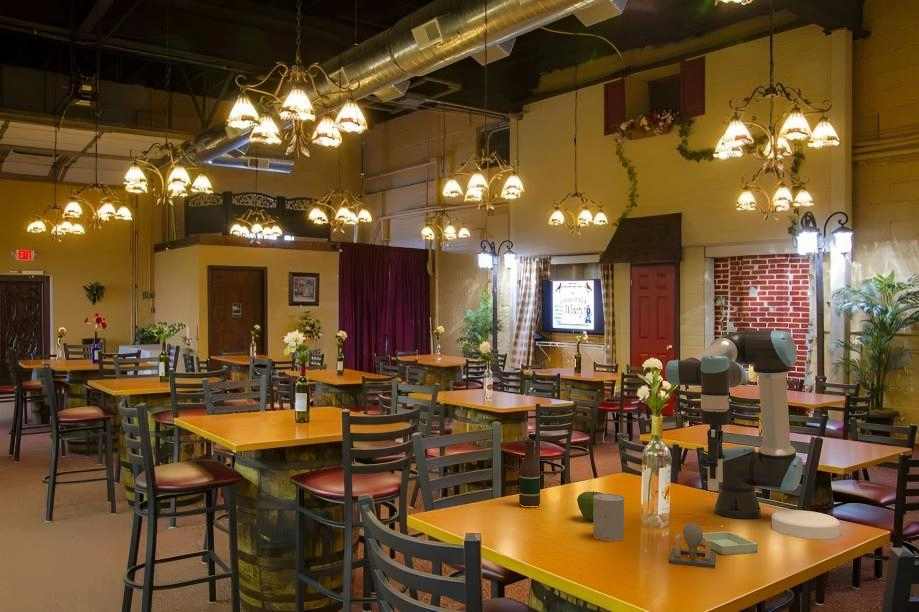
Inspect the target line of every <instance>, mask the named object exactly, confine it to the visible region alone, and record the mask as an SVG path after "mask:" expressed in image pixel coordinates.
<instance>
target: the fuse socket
mask: <svg viewBox="0 0 919 612" xmlns="http://www.w3.org/2000/svg"><path fill="white" fill-rule="evenodd" d="M674 538H675V539H674V541H675V542H674V545H675V546H674V547H672V548H671V551H670V554H669V559H668V564H673V565H682V566H693V567H700V568H708V569H716V561H717V553H716V552H714V551H711V550H710V537H706V540H705V550H701V549H700V550H699V549H697V554H696V555H697V557H700V558H701V557H703V558H704V559H705V560H701V559H694V560H693V559H691V558H683V557H681V556H682V555H684V556H689V548H688V549H687V548H682V545H681V544H682V543H681V542H682V539H681V538H682V535H681V534H680V533H679V534H677V533H676V534H675V537H674Z"/></svg>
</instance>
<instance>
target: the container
mask: <svg viewBox="0 0 919 612" xmlns="http://www.w3.org/2000/svg"><path fill="white" fill-rule="evenodd" d="M771 529H772V530H773V531H774V532H777V533H779V534H781V535H784V536H789V537H793V538H799V539H805V540H806V539H807V540H833V539H837V538H840V536H841V521H839V519H837V518H836V517H835V516H832V515H829V514H826V513H822V512H816V511H810V510H799V509H785V510H783V509H782V510H778V511H775V512H774V513H773V514H772V515H771Z"/></svg>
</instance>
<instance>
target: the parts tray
mask: <svg viewBox="0 0 919 612" xmlns="http://www.w3.org/2000/svg"><path fill="white" fill-rule="evenodd" d="M706 537H710V551H711V552H716V554H719V555H721V556H730V555H732V556H733V555H745V554H756V553H759V552H758V551H759V549H758V548H759V547H758V545H759V544H758V543H757V542H754V541H752V540H750V539H747V538H745V537H743V536H740V535H739V534H737V533H734V532H731V531H730V530H728V531H714V532H703V538H702V540H701V542H700V543H699V545H701V546H703V547H705V540H706Z"/></svg>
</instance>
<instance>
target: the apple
mask: <svg viewBox="0 0 919 612" xmlns="http://www.w3.org/2000/svg"><path fill="white" fill-rule="evenodd" d="M597 494H605V492H604V493H603V492H600V491H594V490H592V491H584V492H581V493H580V494H578V496H577V499H576V501H577V506H578V508H579V511H580V514H581V516H582V517H583V518H584V519H586V521H588V520H590V522H593V496H594V495H597Z"/></svg>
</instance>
